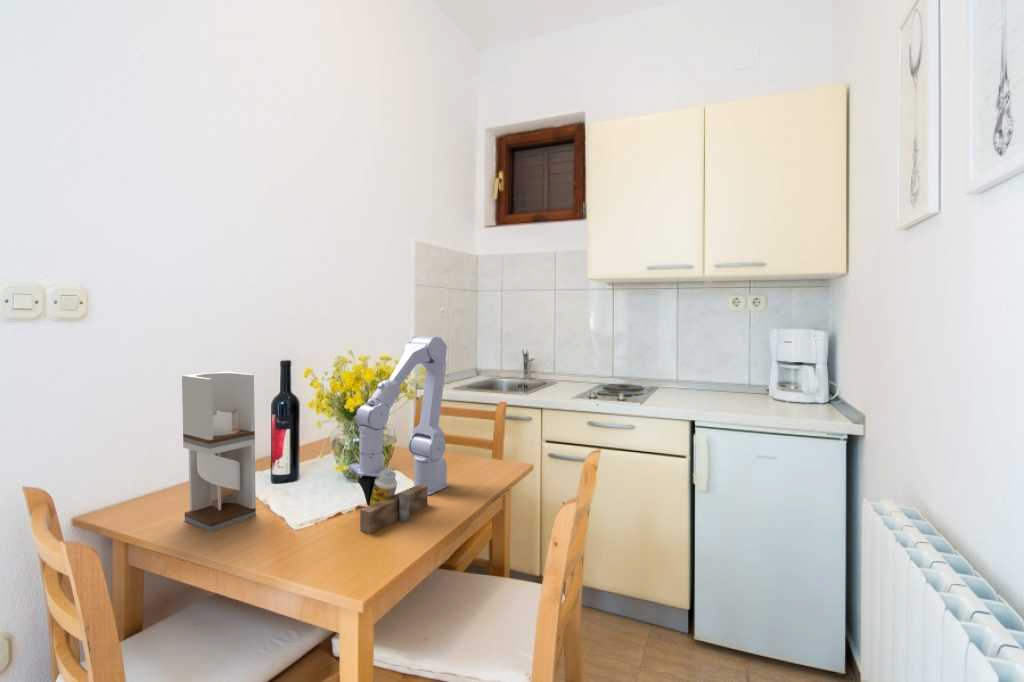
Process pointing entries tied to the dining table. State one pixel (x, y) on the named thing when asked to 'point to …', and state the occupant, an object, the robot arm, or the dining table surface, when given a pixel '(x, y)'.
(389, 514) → the stop bar
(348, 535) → the dining table surface
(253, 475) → the white tower model
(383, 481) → the supplement bottle
